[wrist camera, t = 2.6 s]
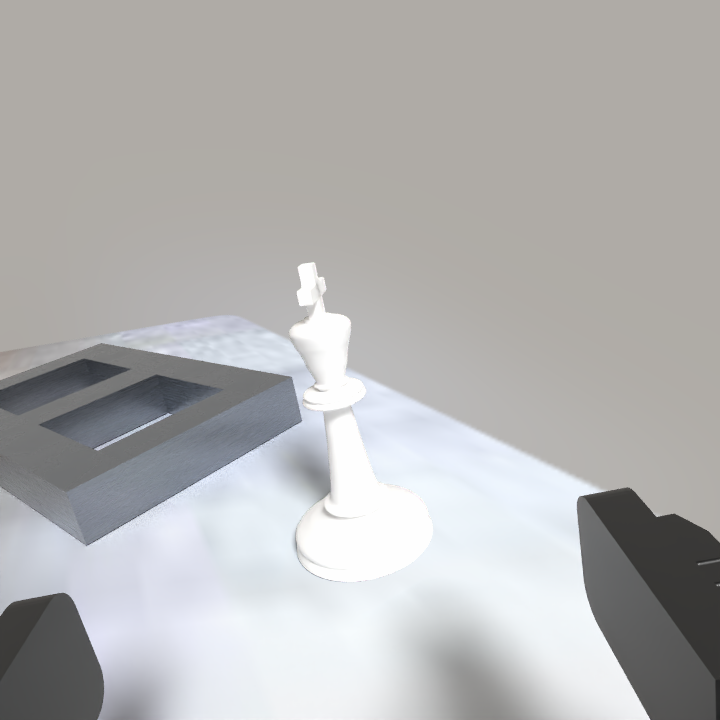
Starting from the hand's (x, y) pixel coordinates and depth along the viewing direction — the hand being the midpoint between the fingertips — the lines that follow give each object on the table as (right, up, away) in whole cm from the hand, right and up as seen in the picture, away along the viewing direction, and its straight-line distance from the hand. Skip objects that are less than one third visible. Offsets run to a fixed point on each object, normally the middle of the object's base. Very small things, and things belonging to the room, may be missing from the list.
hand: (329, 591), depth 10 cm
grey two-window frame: (-15, -1, +27) cm, 31 cm away
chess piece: (+1, -3, +13) cm, 13 cm away
